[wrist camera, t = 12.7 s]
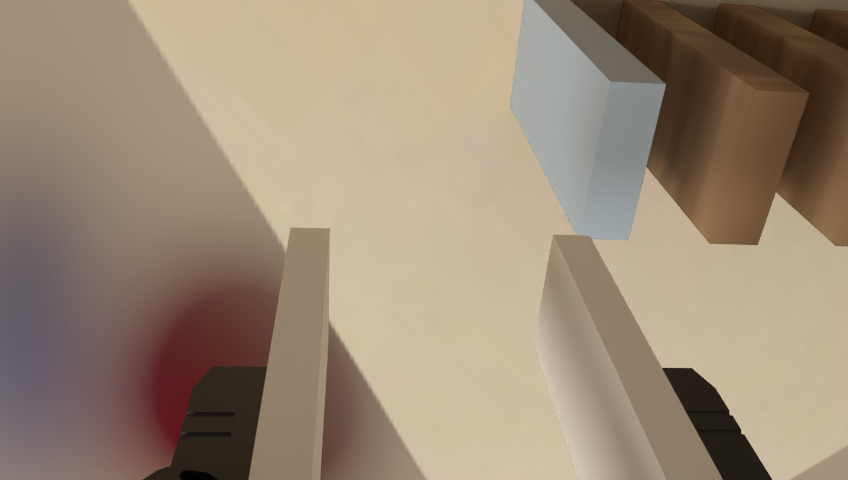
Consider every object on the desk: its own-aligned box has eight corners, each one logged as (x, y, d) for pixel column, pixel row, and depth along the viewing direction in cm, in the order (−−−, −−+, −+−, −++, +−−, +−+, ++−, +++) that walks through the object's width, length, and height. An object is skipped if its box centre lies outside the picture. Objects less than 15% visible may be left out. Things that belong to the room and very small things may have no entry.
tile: (509, 106, 33) (578, 239, 23) (525, -9, 31) (610, 81, 20) (544, 108, 33) (628, 240, 23) (563, -6, 31) (666, 83, 20)
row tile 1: (601, 111, 34) (709, 243, 23) (624, -2, 31) (756, 90, 21) (635, 113, 34) (757, 244, 23) (660, 1, 31) (809, 92, 21)
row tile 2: (690, 114, 34) (835, 245, 24) (720, 3, 32) (896, 96, 21) (723, 116, 34) (882, 247, 24) (755, 5, 32) (947, 98, 21)
